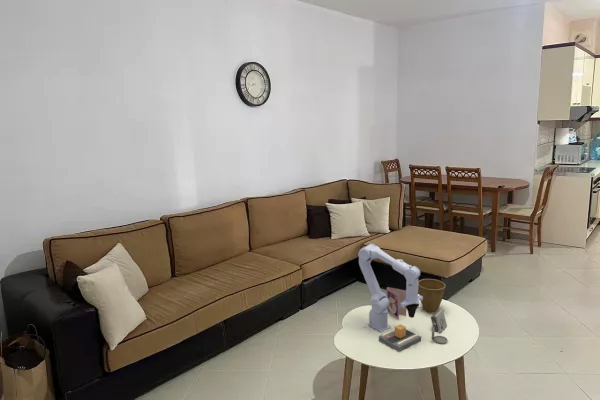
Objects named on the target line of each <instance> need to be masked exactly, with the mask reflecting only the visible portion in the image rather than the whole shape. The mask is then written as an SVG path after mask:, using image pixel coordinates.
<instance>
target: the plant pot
mask: <svg viewBox="0 0 600 400" xmlns="http://www.w3.org/2000/svg"><path fill="white" fill-rule="evenodd" d="M445 291H446V284H445V283H444V282H442V281H441V280H439V279H434V278H433V279H432V278H423V279H420V280H418V296H419V295H420V296H423V300H422V301H421V300H420V304H421V306H422V309H423V311H424V312H426V313H428V314H434V313H435V312H436V311H439V308H440V307H441V306H440V305H441V304H442V300H443V298H444V294H445Z"/></svg>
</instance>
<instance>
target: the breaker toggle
mask: <svg viewBox="0 0 600 400" xmlns="http://www.w3.org/2000/svg"><path fill="white" fill-rule="evenodd" d="M394 329H395V336H396V337H398V338H403V337H405V336H406V329H407V327H406V326H404V324H401V323H399V324H397V325H395V326H394Z"/></svg>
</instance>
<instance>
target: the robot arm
mask: <svg viewBox="0 0 600 400" xmlns="http://www.w3.org/2000/svg"><path fill="white" fill-rule="evenodd" d="M357 255H358V265H359V268H360V270H361V274H363V278H364V280H365V282H366V285H367V288H368V289H369V293H370V295H371V297H370V303H371V309H370V310H369V312H368V313H369V314H368V317H369V318H368V323H367V325H368V326H369V327H371V328H373V329H375V330H377V331H379V332H383V331H387V330H388V329H390V328H392V326H391V325H390V324H389V323H388V317H389V316H388V314H389V313H388V307H389V305H390V301H389V299H388V298H387V294H386V293H385V292H383V291H382V290H381V287H380V284H379V282H378V280H377V277H376V275H375V273H374V270H373V267H372V265H371V263H372V260H375V259H379V260H381V261H383V262H384V263H387V264H388V265H390V266H391V268H392V270H394V271H396V272H398V273H400V274H401V275H403V276H404V278H405V280H406V283H405V284H406V285H405V286H406V289H405V290H406V299H405V300H404V301H403V302H402V303H400V307H402V308H405V306H406V308H407V311H406V312H407V314H408V317H409V318H411V319H413V318H414V317H415V314H416V312H417V309H418V308H419V306H420V302H421V301H422V300H423V296H420V295H419V290H418V281H419V278H420V276H421V270H420V268H418V267H417V266H416V265H413V266H412V265H411V264H408V263H406V261H404V259H399V258H398V259H396V258H394V257H392V256H390V255H389V254H388V253H386V252H385V251H384V250H382V249H381V248H380V247H379V246H377V245H376V244H374V243H369V244H368V245H366V246H363V247H361V248H360V249H359V251H358V253H357Z"/></svg>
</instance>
